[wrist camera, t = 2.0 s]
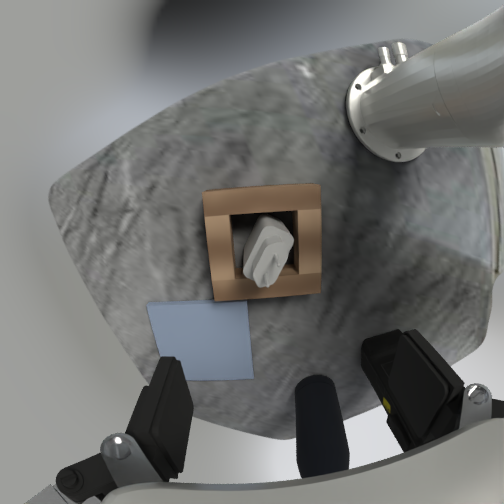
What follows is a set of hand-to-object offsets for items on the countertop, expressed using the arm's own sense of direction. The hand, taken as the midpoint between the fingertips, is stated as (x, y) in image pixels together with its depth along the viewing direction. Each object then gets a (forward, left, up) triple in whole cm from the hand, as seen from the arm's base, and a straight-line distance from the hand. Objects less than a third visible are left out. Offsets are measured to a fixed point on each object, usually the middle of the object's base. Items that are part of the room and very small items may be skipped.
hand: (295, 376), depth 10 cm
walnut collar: (0, 0, -23) cm, 23 cm away
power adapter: (0, 0, -23) cm, 23 cm away
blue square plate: (+14, -9, -23) cm, 28 cm away
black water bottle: (+25, +7, -23) cm, 34 cm away
